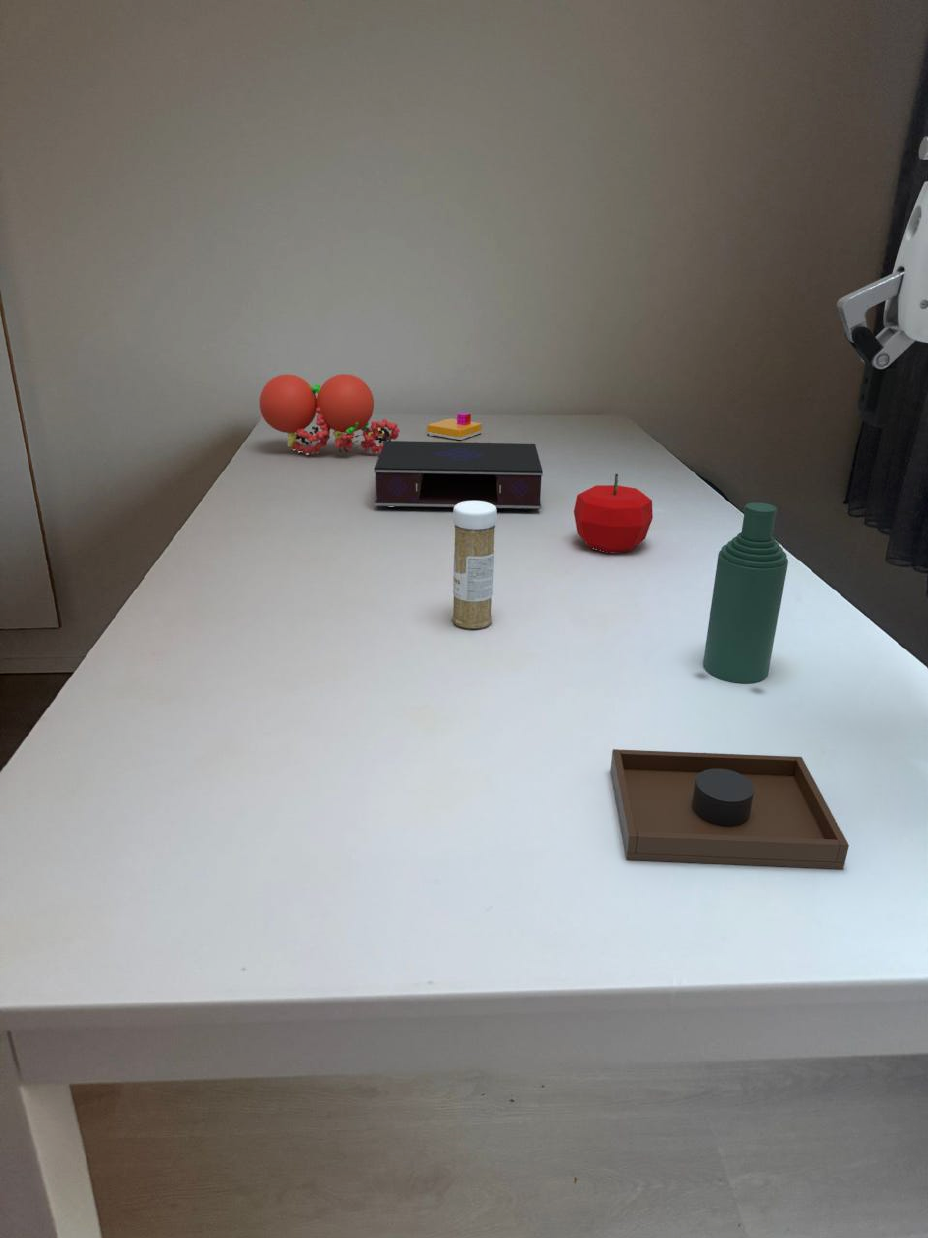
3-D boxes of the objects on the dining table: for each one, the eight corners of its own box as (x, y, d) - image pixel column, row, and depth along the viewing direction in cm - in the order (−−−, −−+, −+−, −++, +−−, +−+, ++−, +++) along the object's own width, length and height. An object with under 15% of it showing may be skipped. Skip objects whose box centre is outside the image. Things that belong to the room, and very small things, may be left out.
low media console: (540, 514, 137) (543, 471, 134) (375, 511, 137) (374, 468, 134) (533, 482, 152) (535, 443, 150) (385, 479, 152) (384, 440, 150)
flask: (759, 655, 94) (786, 497, 87) (775, 684, 88) (806, 518, 81) (697, 653, 95) (719, 495, 88) (709, 682, 89) (734, 516, 82)
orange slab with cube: (460, 441, 179) (460, 419, 177) (427, 435, 183) (427, 414, 181) (481, 434, 185) (482, 413, 183) (449, 428, 189) (449, 408, 187)
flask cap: (759, 809, 69) (764, 784, 68) (732, 834, 66) (737, 808, 65) (709, 786, 71) (713, 761, 71) (681, 810, 69) (685, 784, 68)
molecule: (257, 462, 161) (249, 372, 158) (271, 462, 171) (264, 378, 169) (397, 455, 160) (392, 365, 157) (403, 455, 171) (398, 371, 168)
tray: (797, 778, 74) (801, 756, 73) (843, 869, 64) (849, 845, 63) (610, 770, 74) (612, 748, 73) (626, 859, 64) (629, 835, 63)
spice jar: (448, 614, 102) (450, 499, 97) (488, 612, 103) (492, 498, 97) (455, 631, 98) (457, 512, 93) (496, 629, 99) (500, 511, 93)
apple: (575, 530, 130) (580, 461, 126) (650, 536, 128) (657, 467, 124) (567, 555, 121) (572, 482, 117) (648, 562, 119) (656, 488, 115)
